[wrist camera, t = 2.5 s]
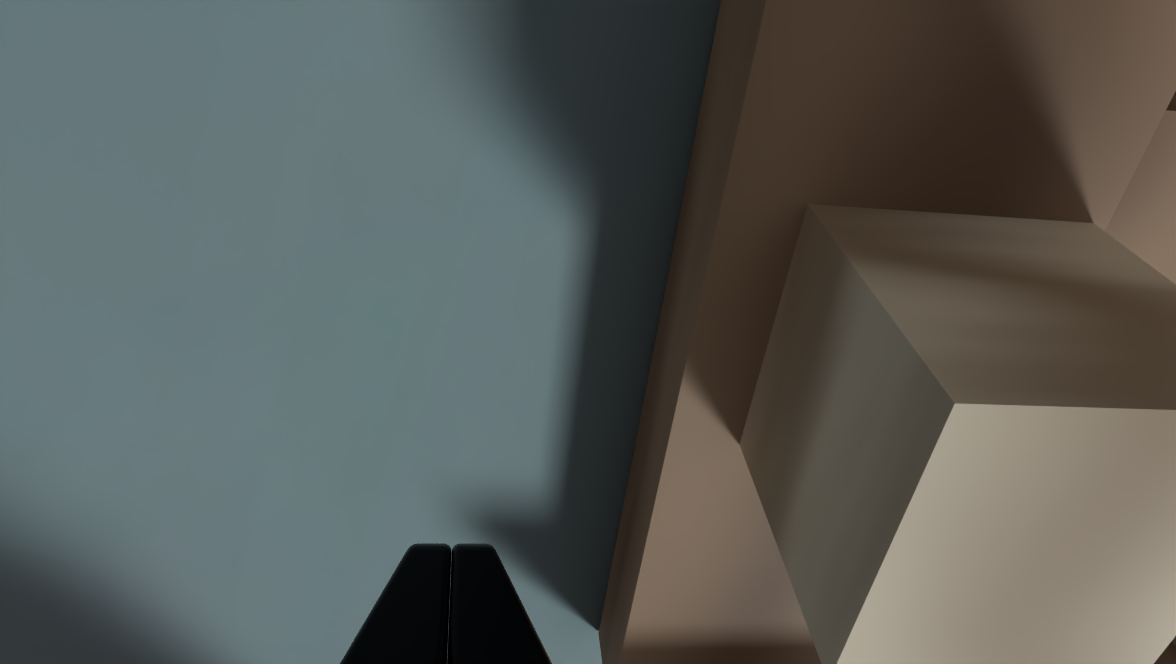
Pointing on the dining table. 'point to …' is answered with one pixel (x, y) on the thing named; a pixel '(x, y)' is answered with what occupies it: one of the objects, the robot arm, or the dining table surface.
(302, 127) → the dining table surface
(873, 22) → the shallow wooden tray
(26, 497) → the dining table surface
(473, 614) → the robot arm
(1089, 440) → the beech block
